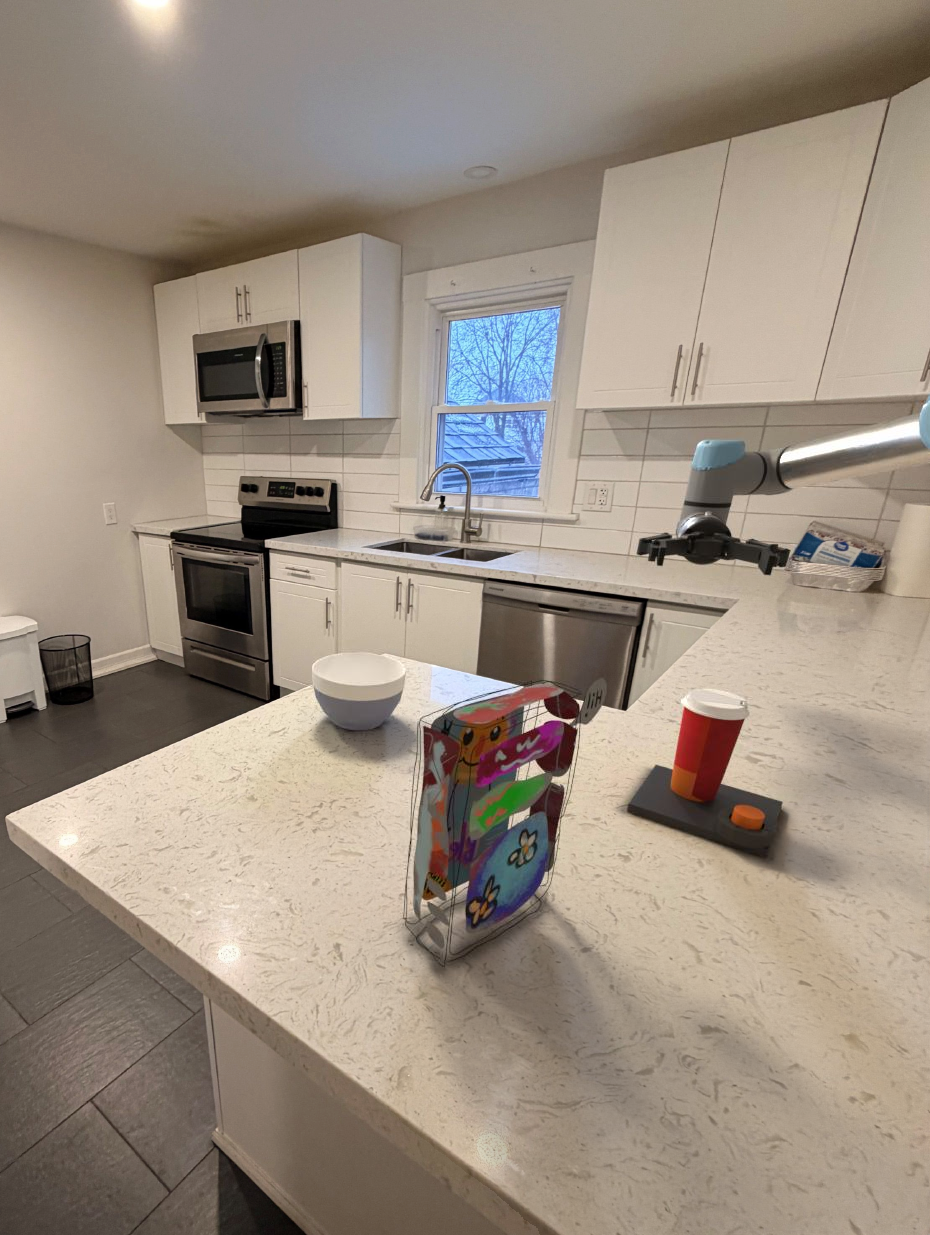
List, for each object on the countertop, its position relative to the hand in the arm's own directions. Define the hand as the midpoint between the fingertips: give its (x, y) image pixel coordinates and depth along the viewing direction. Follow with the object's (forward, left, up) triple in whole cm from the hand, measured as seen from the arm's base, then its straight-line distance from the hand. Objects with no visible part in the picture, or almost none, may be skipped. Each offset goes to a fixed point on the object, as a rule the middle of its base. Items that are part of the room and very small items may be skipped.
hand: (714, 561), depth 91 cm
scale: (-8, +17, -30) cm, 35 cm away
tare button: (-13, +22, -27) cm, 37 cm away
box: (+5, +51, -30) cm, 59 cm away
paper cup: (-6, +15, -29) cm, 33 cm away
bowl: (+45, +24, -30) cm, 59 cm away
